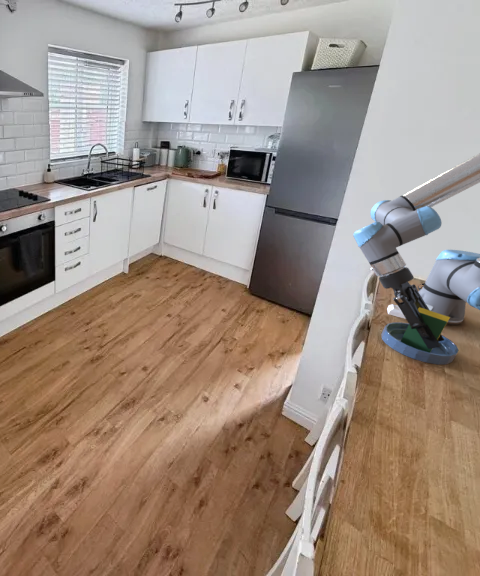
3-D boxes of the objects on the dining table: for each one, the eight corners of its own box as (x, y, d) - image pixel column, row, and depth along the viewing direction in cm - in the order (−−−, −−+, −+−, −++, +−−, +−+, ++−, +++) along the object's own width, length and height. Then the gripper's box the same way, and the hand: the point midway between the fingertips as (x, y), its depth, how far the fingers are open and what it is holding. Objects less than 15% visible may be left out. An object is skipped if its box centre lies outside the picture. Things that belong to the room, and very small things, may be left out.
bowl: (389, 325, 120) (394, 316, 118) (457, 351, 109) (463, 341, 107) (373, 343, 110) (377, 334, 108) (445, 373, 99) (451, 363, 97)
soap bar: (420, 323, 122) (423, 317, 121) (387, 315, 126) (390, 308, 125) (418, 317, 126) (422, 311, 125) (386, 309, 130) (389, 303, 129)
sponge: (403, 338, 113) (419, 307, 108) (432, 349, 108) (450, 317, 103) (399, 343, 110) (415, 311, 105) (428, 354, 105) (447, 322, 100)
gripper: (386, 270, 117) (427, 337, 113) (368, 283, 107) (413, 358, 103) (414, 260, 111) (458, 330, 107) (398, 273, 101) (446, 352, 97)
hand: (436, 344), depth 105 cm, fingers closed on sponge, 4 cm apart
